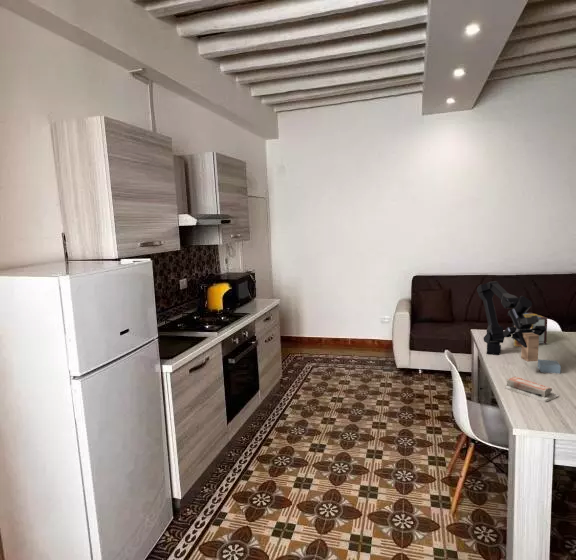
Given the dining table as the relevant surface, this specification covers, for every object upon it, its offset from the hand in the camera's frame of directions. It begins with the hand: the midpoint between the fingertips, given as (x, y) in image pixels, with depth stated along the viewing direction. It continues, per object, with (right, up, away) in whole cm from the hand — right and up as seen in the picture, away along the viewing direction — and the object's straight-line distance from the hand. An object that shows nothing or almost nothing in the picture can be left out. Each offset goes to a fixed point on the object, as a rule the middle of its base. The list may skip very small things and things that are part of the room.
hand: (531, 346), depth 198 cm
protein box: (+31, -5, +55) cm, 64 cm away
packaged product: (-12, -17, -18) cm, 28 cm away
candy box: (+21, -7, +45) cm, 50 cm away
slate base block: (+12, -13, +6) cm, 18 cm away
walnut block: (0, -6, +2) cm, 7 cm away
